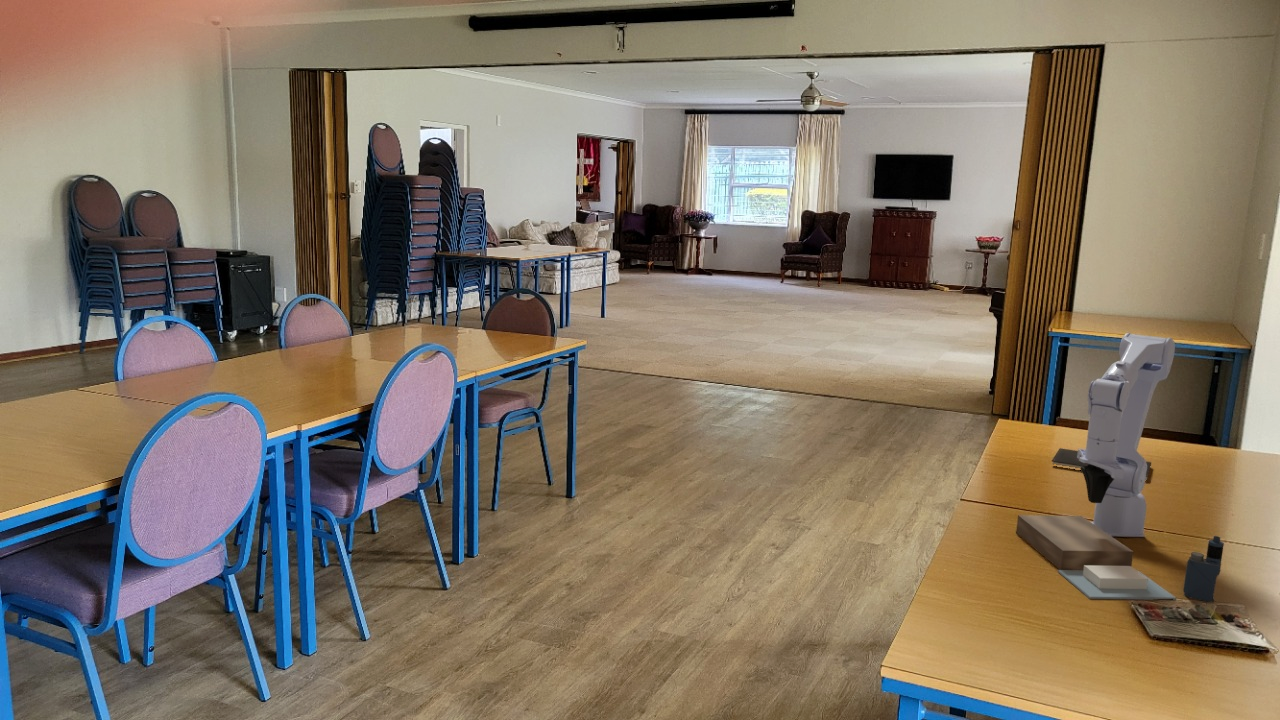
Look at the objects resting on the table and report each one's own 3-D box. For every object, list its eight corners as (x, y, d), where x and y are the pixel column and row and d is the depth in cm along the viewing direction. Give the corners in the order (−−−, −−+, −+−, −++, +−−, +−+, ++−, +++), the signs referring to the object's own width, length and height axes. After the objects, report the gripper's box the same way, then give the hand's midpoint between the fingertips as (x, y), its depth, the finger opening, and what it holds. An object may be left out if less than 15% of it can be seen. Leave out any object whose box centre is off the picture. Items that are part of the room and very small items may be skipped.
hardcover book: (1146, 484, 242) (1147, 475, 242) (1050, 468, 254) (1051, 460, 253) (1150, 469, 256) (1151, 461, 255) (1059, 455, 267) (1060, 447, 267)
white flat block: (1147, 578, 174) (1146, 588, 174) (1130, 565, 180) (1128, 575, 180) (1100, 578, 173) (1099, 588, 174) (1084, 565, 179) (1082, 575, 180)
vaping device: (1215, 603, 170) (1225, 540, 167) (1182, 596, 172) (1191, 534, 170) (1215, 598, 172) (1225, 536, 170) (1182, 591, 174) (1191, 530, 172)
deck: (1079, 533, 203) (1081, 516, 202) (1130, 570, 183) (1133, 551, 183) (1016, 532, 202) (1018, 515, 202) (1060, 570, 183) (1062, 550, 182)
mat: (1138, 573, 183) (1138, 571, 182) (1175, 599, 171) (1176, 597, 171) (1058, 572, 182) (1058, 570, 182) (1089, 598, 170) (1089, 596, 170)
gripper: (1066, 428, 198) (1059, 490, 200) (1102, 447, 184) (1094, 513, 186) (1099, 429, 198) (1091, 490, 201) (1137, 447, 184) (1128, 514, 186)
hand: (1095, 501), depth 193 cm, fingers closed
